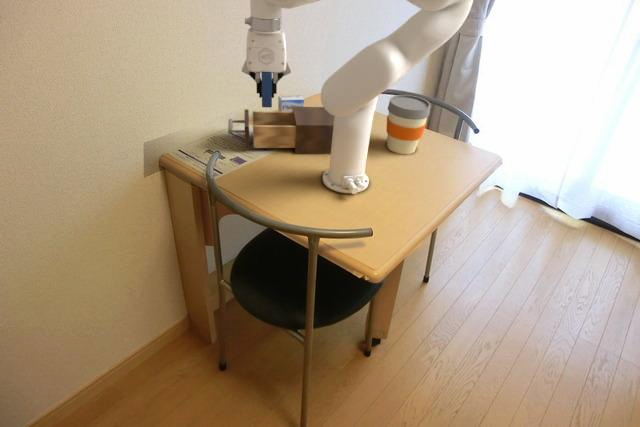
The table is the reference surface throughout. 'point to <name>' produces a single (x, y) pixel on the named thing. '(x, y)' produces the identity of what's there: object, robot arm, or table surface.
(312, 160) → the table surface
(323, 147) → the cabinet
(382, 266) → the table surface
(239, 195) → the table surface
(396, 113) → the reusable coffee cup
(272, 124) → the drawer
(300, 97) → the medicine box
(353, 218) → the table surface
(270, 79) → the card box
